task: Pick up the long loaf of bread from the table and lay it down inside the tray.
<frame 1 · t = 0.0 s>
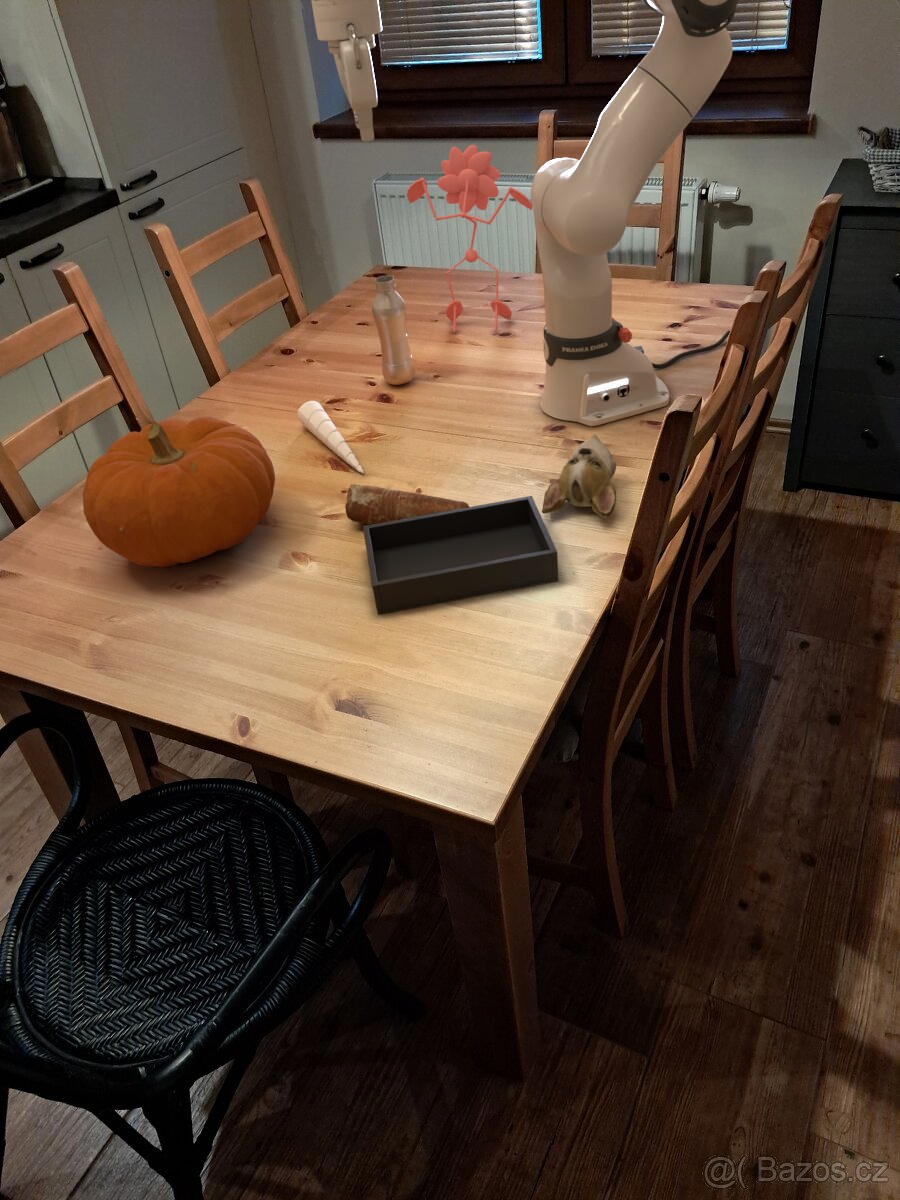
hand: (365, 133, 130), 48 cm above the table, tool pointing down, fingers open, 8 cm apart
tray: (459, 566, 127), on the table
pumpkin: (197, 538, 140), on the table
unicorn horn: (336, 447, 159), on the table
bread: (412, 521, 138), on the table
plastic bottle: (400, 382, 177), on the table
figurine: (483, 320, 197), on the table
ceramic sculpture: (585, 501, 137), on the table
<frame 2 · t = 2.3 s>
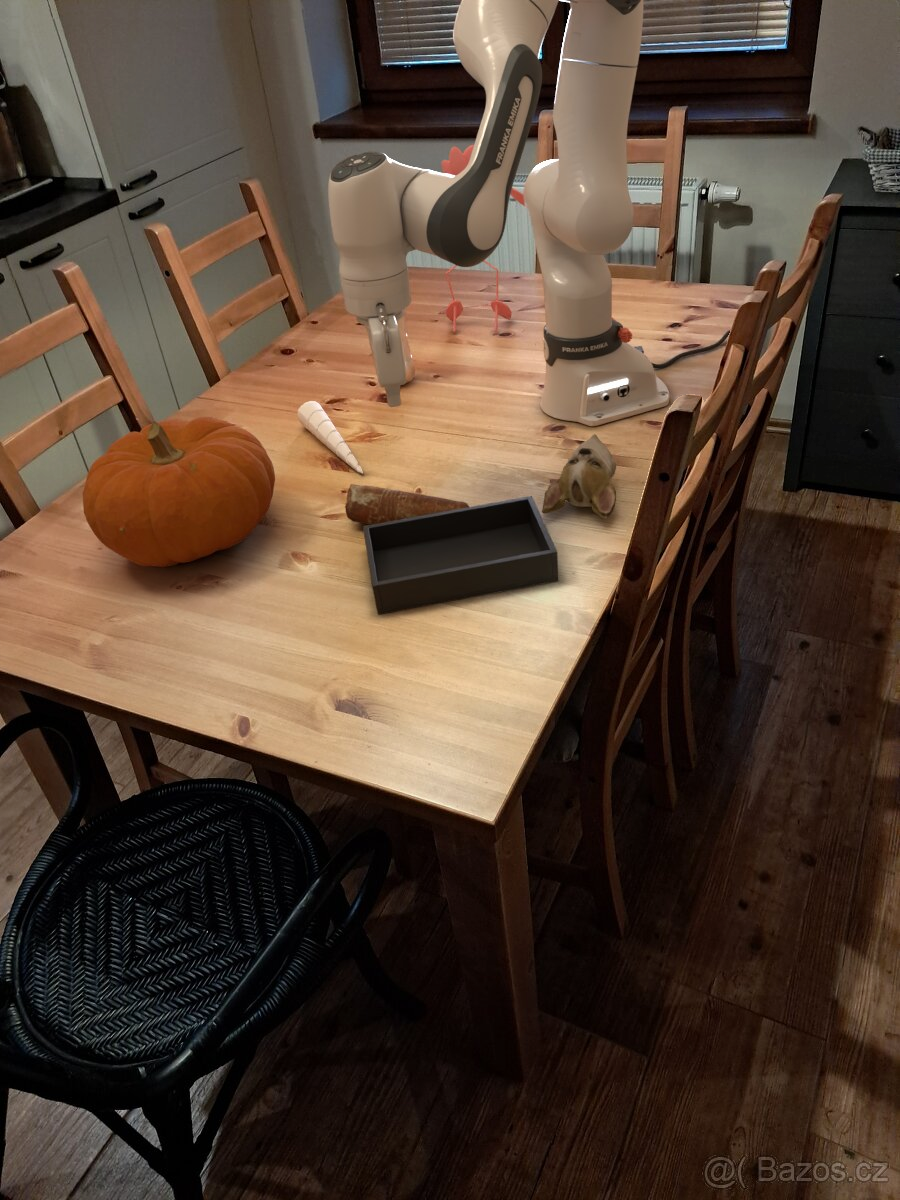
hand: (390, 390, 127), 20 cm above the table, tool pointing down, fingers open, 8 cm apart
nothing on the table moved.
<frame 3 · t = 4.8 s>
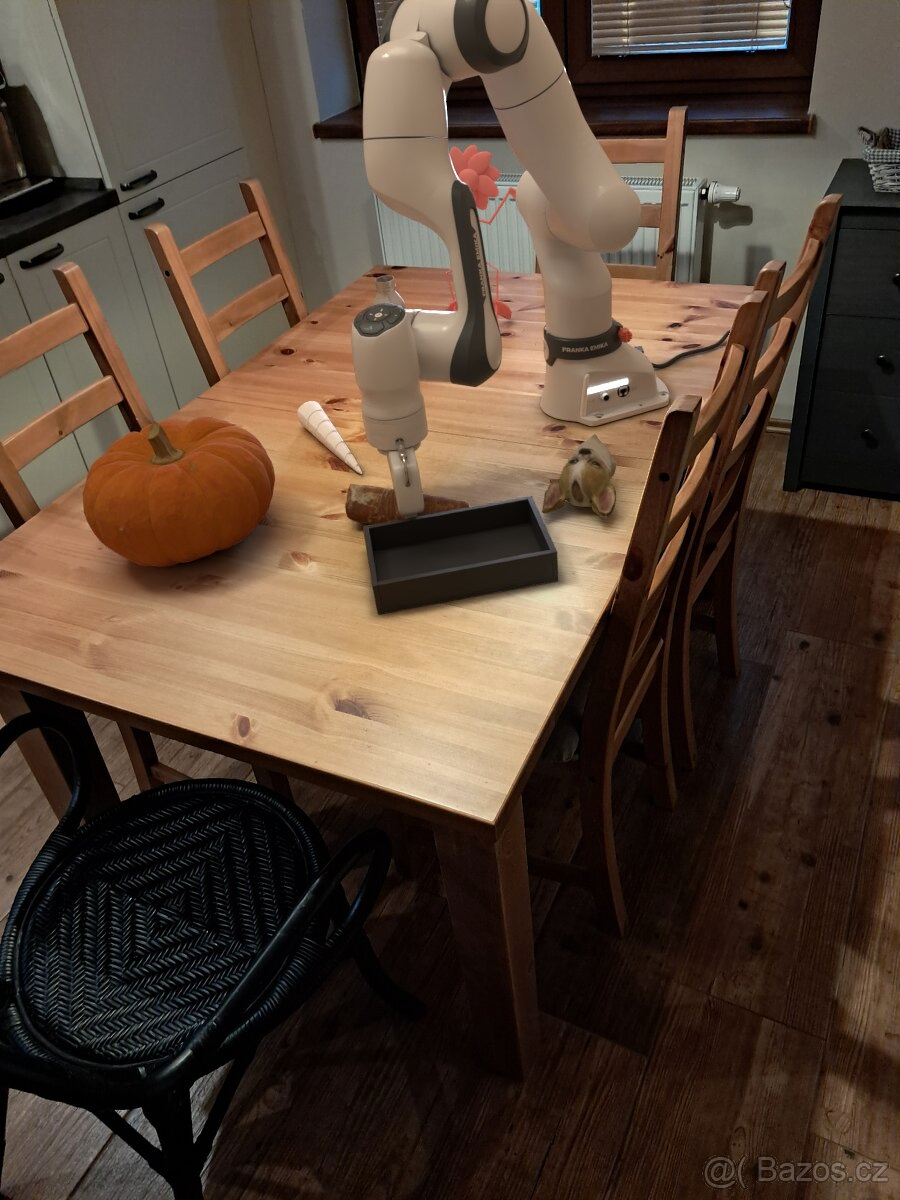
hand: (408, 508, 136), 2 cm above the table, tool pointing down, fingers closed on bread, 6 cm apart
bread: (412, 520, 138), on the table, touching gripper
everything else where it was.
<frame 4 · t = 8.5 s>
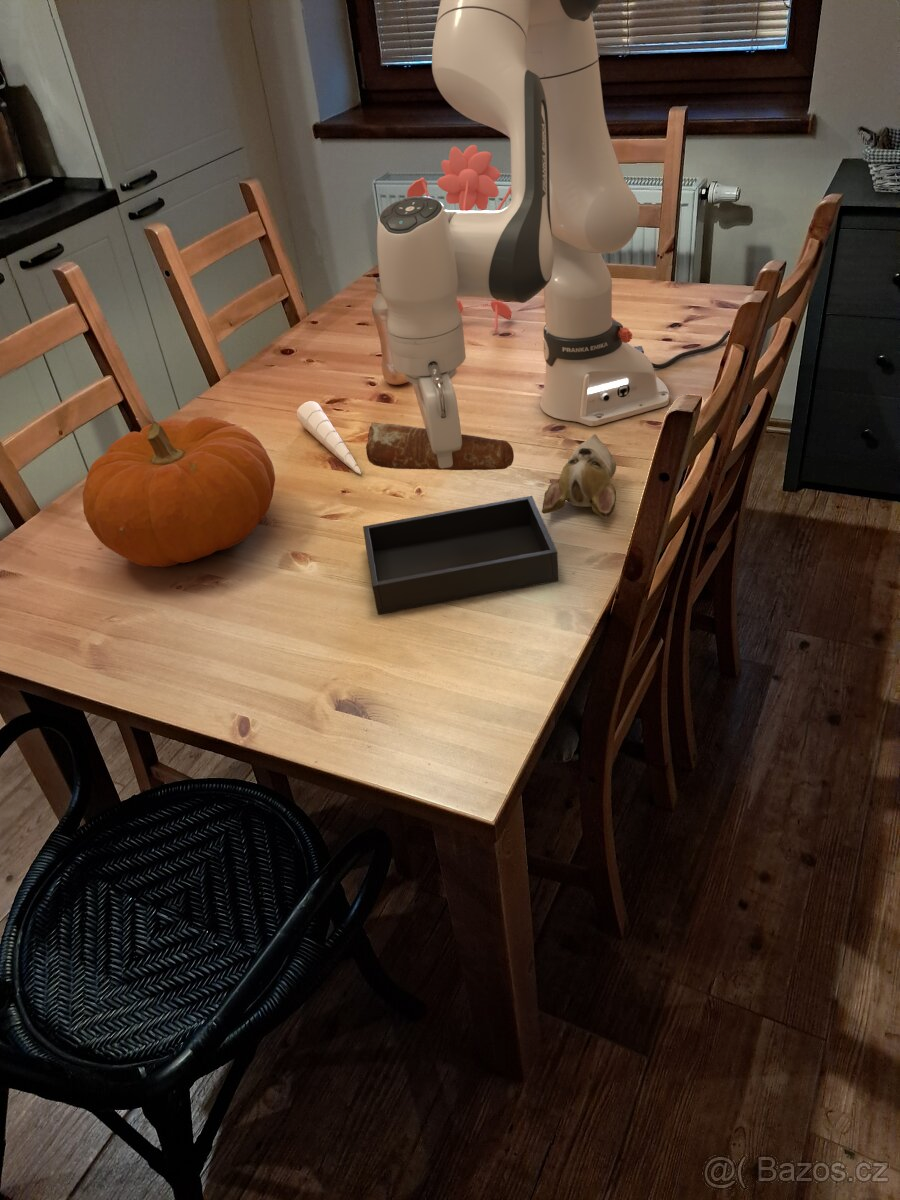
hand: (440, 450, 116), 18 cm above the table, tool pointing down, fingers closed on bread, 6 cm apart
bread: (443, 465, 118), point 16 cm above the table, touching gripper
everything else where it was.
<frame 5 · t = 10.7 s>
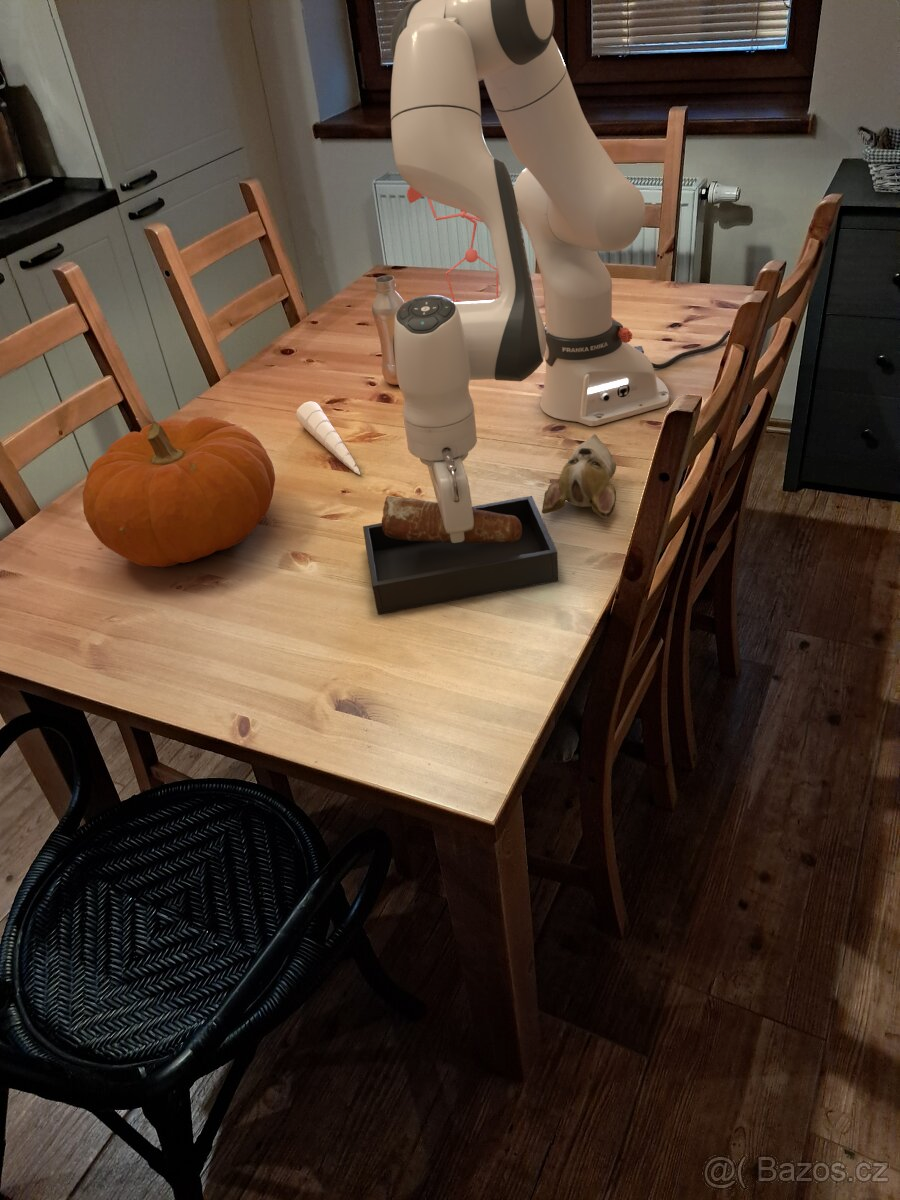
hand: (452, 523, 122), 7 cm above the table, tool pointing down, fingers closed on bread, 6 cm apart
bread: (455, 537, 124), point 5 cm above the table, touching gripper
everything else where it was.
when the fingers open (3 cm above the table, at t = 12.3 s): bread stays where it is, resting on tray.
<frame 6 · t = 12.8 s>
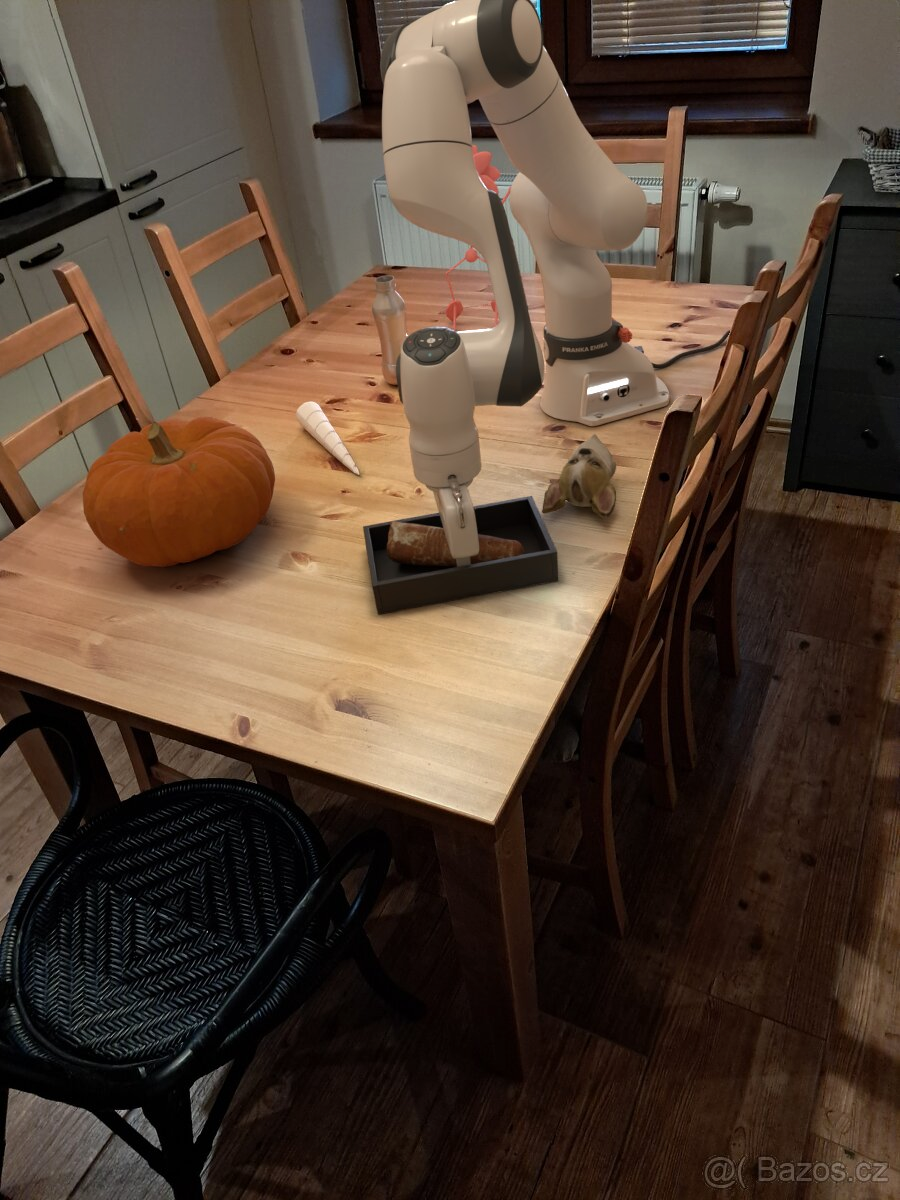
hand: (457, 546, 125), 3 cm above the table, tool pointing down, fingers open, 8 cm apart
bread: (458, 561, 127), point 1 cm above the table, touching tray
everything else where it was.
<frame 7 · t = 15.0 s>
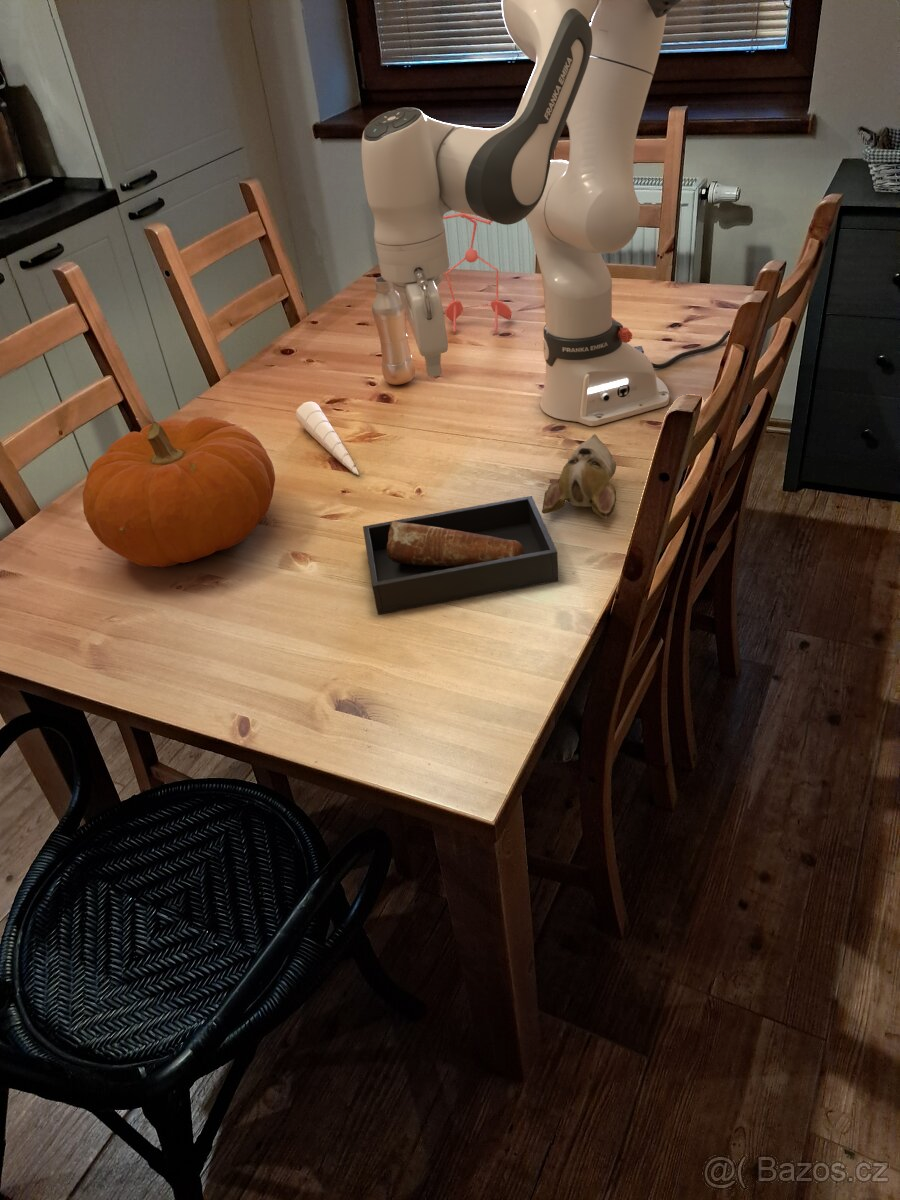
hand: (429, 360, 122), 25 cm above the table, tool pointing down, fingers open, 8 cm apart
nothing on the table moved.
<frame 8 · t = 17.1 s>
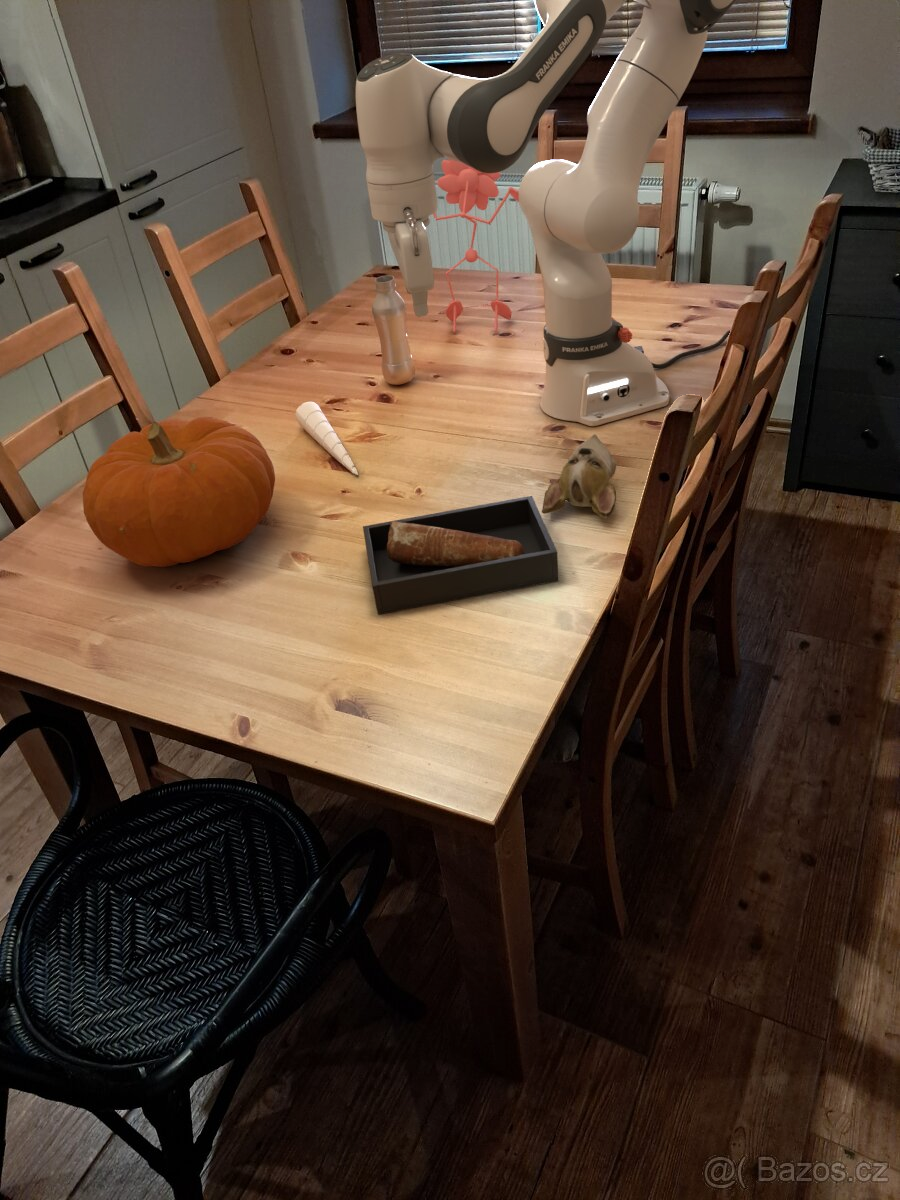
hand: (417, 302, 128), 29 cm above the table, tool pointing down, fingers open, 8 cm apart
nothing on the table moved.
at the end: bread inside the target area in the tray (0.5 cm from its centre), point 0.6 cm above the tray's base; the gripper is holding nothing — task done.
